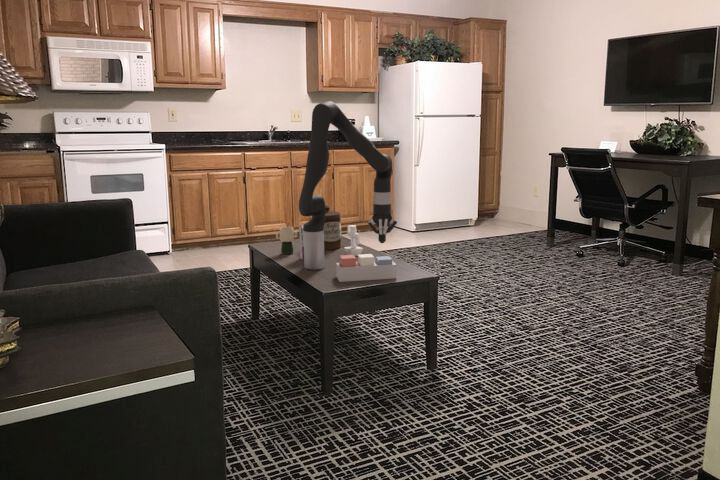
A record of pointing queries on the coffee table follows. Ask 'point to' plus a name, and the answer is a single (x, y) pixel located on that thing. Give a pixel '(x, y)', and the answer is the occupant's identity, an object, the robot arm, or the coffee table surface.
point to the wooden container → (332, 229)
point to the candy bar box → (301, 242)
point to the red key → (347, 260)
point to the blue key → (383, 260)
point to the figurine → (353, 241)
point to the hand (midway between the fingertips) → (382, 242)
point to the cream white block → (365, 259)
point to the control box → (365, 272)
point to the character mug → (286, 239)
